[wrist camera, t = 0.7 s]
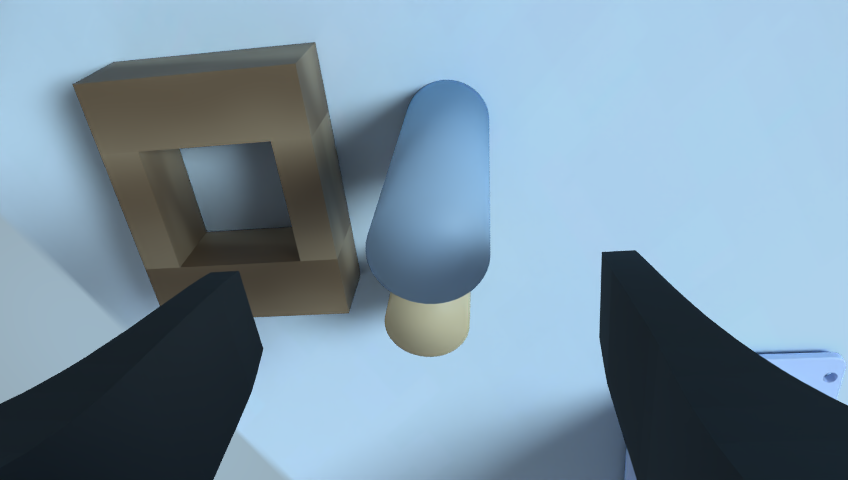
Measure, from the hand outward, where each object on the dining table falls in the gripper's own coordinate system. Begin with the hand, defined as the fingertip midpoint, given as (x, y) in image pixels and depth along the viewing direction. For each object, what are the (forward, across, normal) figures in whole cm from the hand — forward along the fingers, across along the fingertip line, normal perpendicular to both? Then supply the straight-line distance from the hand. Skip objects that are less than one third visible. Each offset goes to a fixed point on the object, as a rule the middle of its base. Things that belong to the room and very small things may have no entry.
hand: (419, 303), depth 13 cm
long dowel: (+10, 0, 0) cm, 10 cm away
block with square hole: (+10, +8, +2) cm, 13 cm away
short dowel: (+10, +1, +6) cm, 12 cm away
